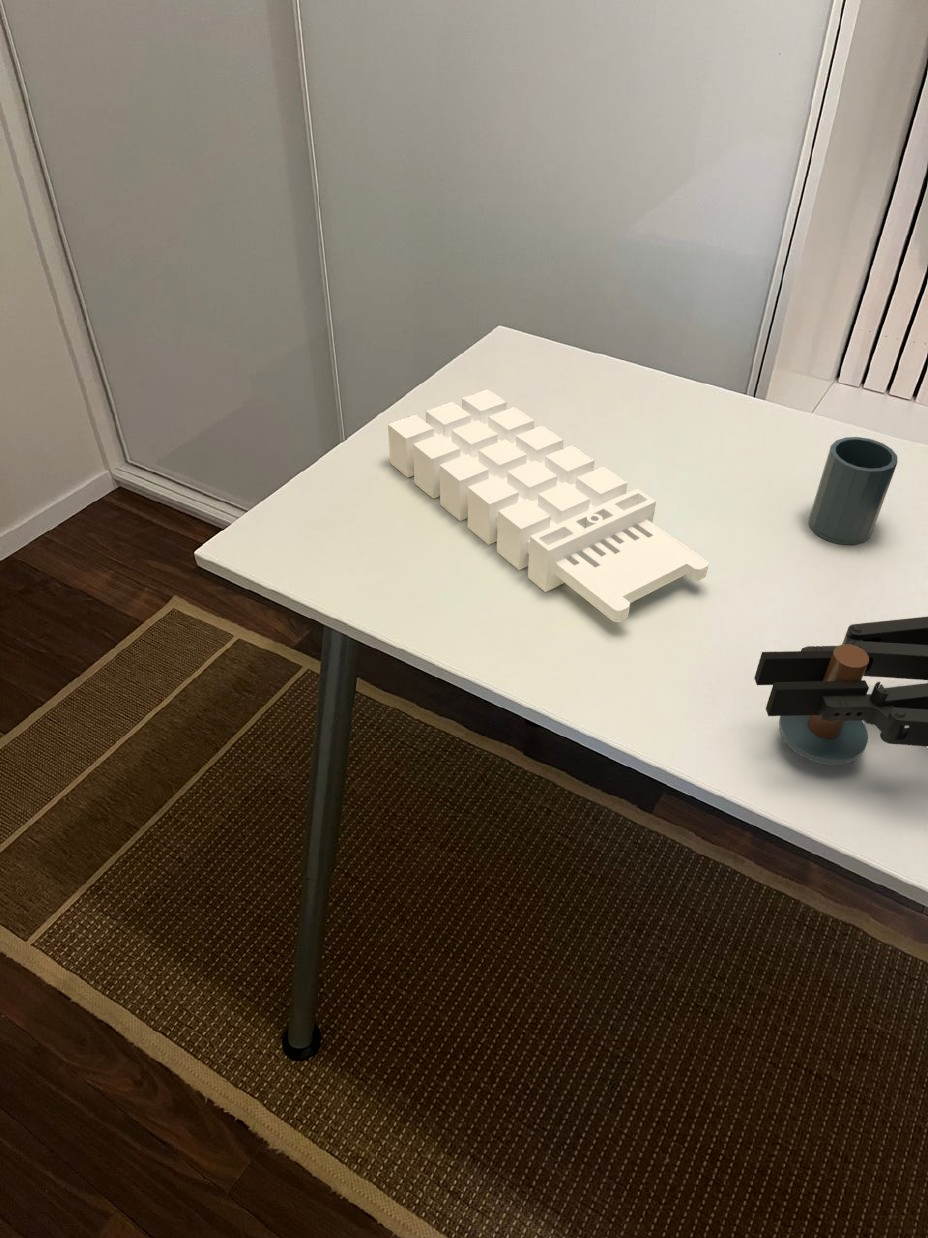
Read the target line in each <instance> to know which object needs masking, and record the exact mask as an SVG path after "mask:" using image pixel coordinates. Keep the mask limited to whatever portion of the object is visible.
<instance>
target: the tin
mask: <svg viewBox="0 0 928 1238" xmlns="http://www.w3.org/2000/svg"><path fill="white" fill-rule="evenodd" d="M898 462H899V461H898V455H897V454H896V452H895V450H893V448H891V447H889V446H888V445H886V444H885V443H884V442H880V441H877V440H876V439H871V438H868V437H861V436H849V437H848V436H847V437H842V438H839V439H836V440H835V441H833V443H831V444H830V448H829V450H828V454H827V457H826V460H825V464H824V467H823V469H822V473H821V477H820V480H819V483H818V486H817V490H816V493H815V496H814V500H813V504H812V506H811V510H810V513H809V517H808V526H809V527H810V529H811V531H812V532H813V533H814V534H815V535H816V536H818V537H819V538H821V539H823V540H825V541H827V542H830V543H833V544H838V545H844V546H845V545H846V546H853V545H859V544H862V543H864V542H867V540H868V539H870V537H871V534H872V533H873V531H874V529H875V526H876V523H877V520H878V517H879V515H880V512H881V510H882V508H883V507H882V506H883V504H884V501H885V498H886V495H887V493H888V490H889V487H890V485H891V482H892V479H893V477H894V473H895V470H896V468H897V465H898Z"/></svg>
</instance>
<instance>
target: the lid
mask: <svg viewBox="0 0 928 1238" xmlns="http://www.w3.org/2000/svg"><path fill="white" fill-rule="evenodd" d="M836 646H837V647H836V648H835V649H834V652H833V655H832V657H831V660H830V663H829V665H828V668H827V671H826V674H825V676H824V679H823V681H857V680H863V678H864V676H863V675H864V673H865V670H866V668H867V665H868V663H869V657H868V655H867V653H866V652H865V651H864V650H863V649H861V648H859V647H857V646H854V645H850V644H843V645H842V644H840V645H836ZM778 729H779V733H780V735H781V737H782V739H783V741H784V742H785V743H786V744H787V746H789V747H790V749H792V751H794V752H795V753H797V754H798V755H800V756H802V757H803V758H805V759H807V760H810V761H812V762H815V763H819V764H823V765H831V766H833V765H834V766H839V765H844V764H849V763H851V762H854V761H855V760H857V759H858V758H860V757H861V756H862V755H863V753H864V752H865V749H866V747H867V745H868V739H869V734H868V729H867V727H866V725H865V723H864V721H863V720H860V721H844V720H843V721H827V720H823V719H821V717H820V715H802V716H779V719H778Z"/></svg>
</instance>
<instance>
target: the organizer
mask: <svg viewBox="0 0 928 1238" xmlns="http://www.w3.org/2000/svg"><path fill="white" fill-rule="evenodd" d="M507 405H508V404H507V401H506V400H505V399H503V398H502V397H500V396H498V395H497V394H495V393H494V392H492V391H491V390H489V389H484V390H482V391H479V392H475V393H473V394H470V395H467V396H464V397H462V398H461V406H460V405H458V404H456V403H455V402H454V401H450V402H448V403H444V404H442V405H439V406H436V407H434V408H433V407H432V408H430V409H427V410H425V420H423V419H422V418H421V417H419V416H418V415H417V414H413V415H410V416H407V417H405V418H402V419H399V420H395V421H394V422H391V423H388V424H387V429H388V448H389V449H388V450H389V464H390V465H392V466H393V467H394V468H395V469H397V470H398V471H399V472H400V473H401V474H402V475H404V476H405V477H406V478H408V479H409V478H411V477H414V478H413V479H414V484H415V486H417V487H419V489H421V490H422V491H423V492H424V493H425V494H426V495H428V496H429V497H430V498H431V499H433V500H434V499H436V498H439V505H440V506H441V507H442V508H444V510H445V511H447V512H448V513H450V514H451V515H452V516H453V517H454V518H455V519H457V520H458V521H459V522H462V521H464V520H467V529H469V530H470V531H471V532H472V533H473V534H475V535H476V536H477V537H478V538H479V539H481V540H482V541H483V542H484V543H486V544H487V546H490V545H492V544H494V543H496V553H498V555H500V556H501V557H503V559H504V560H506V561H507V562H508V563H509V564H510V565H512V566H513V567H514V568H515V569H516V570H518V571H521V570H523V569H525V568H527V579H529V580H530V581H531V582H532V583H534V585H536V586H537V587H538V588H540V589H541V590H542V591H543V592H545V593H547V592H549V591H551V590H554V589H555V588H557V587H559V586H561V585H564V584H566V585H567V586H568V587H570V588H571V590H573V591H574V592H576V593H577V594H578V595H580V597H582V598H583V599H585V600H586V601H587V602H588V603H590V605H591V606H593V607H595V609H597V610H598V612H599V611H600V612H601V613H602V614H603V615H604V616H606V618H608V619H609V620H610V621H612V622H614V623H621V622H623V621H625V620H626V619H628V618H629V613H630V608H631V607H630V606H631V603H633V602H636V601H637V600H639V599H642V598H643V597H645V596H646V595H649V594H650V593H652V592H654V591H656V590H658V589H660V588H662V587H664V586H666V585H668V584H670V583H672V582H674V581H676V580H678V579H680V578H681V577H683V576H686V577H687V578H689V579H690V580H691V581H696V582H697V581H701V580H702V579H704V578H706V577H707V573H708V570H709V569H708V568H709V564H710V563H709V561H708V560H706V559H705V558H703V557H702V556H701V555H699V554H698V553H697V552H695V551H693V550H692V549H691V548H689V547H687V545H685V544H683V543H682V542H680V541H679V540H678V539H676V538H675V537H673V536H671V535H670V534H669V533H667V532H666V531H664V530H663V529H661V528H660V527H658V526H657V525H656V524H654V523H653V521H654V517H655V510H656V505H657V500H655V499H653V498H652V497H650V496H649V495H647V494H646V493H644V492H643V491H642V490H640V489H638V488H635V489H633V490H631V491H627V488H628V481H626V480H624V479H623V478H622V477H620V476H619V475H617V474H615V472H613V471H611V470H610V469H608V468H607V467H605V466H603V465H602V466H600V467H598V468H596V469H595V459H593V458H592V457H591V456H588V455H587V454H586V453H584V452H582V451H581V450H579V449H578V448H577V447H575V446H574V445H572V444H570V445H569V446H566V447H564V439H563V438H562V437H560V436H559V435H557V434H556V433H554V432H553V431H551V430H550V429H548V428H547V427H545V426H544V425H539V426H537V427H535V420H534V419H533V418H532V417H530V416H529V415H527V414H526V413H524V412H523V411H521V410H520V409H518V408H517V407H515V406H512V407H510V408H507V407H508V406H507Z"/></svg>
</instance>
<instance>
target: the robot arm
mask: <svg viewBox="0 0 928 1238" xmlns="http://www.w3.org/2000/svg"><path fill="white" fill-rule="evenodd" d="M843 644H850V645H854V646H857V647H859V648H861V649H863V650H864V651H865V652H866V653H867V655H868V657H869V663H868V665H867V668H866V670H865V673H864V675H863V677H870V678H886V679H887V678H888V679H901V680H903V679H904V680H917V681H928V616H919V617H911V618H910V617H908V618H901V619H890V620H882V621H870V622H861V623H851V624H849V626H848V627H847V630H846V632H845V636H844V638H843V641H842V643H841V645H843ZM837 646H838V645H807V646H805V647H802V648H801V650H791V651H789V650H787V651H786V650H785V651H761V653H760V658H759V660H758V664H757V667H756V671H755V675H754V677H753V678H754V681H755V685H756V686H772V687H771V690H770V692H769V693H770V694H769V697H768V699H767V703H766V705H765V710H766V711H765V712H766V714H767V716H768V717H780V716H802V715H820V717H821V719H823V720H827V721H843V720H844V721H860V720H862V721H863V722H865V723H866V724H868V725H872V726H874V727H876V728H877V730H879V731H880V733H879V737H880V740H882V741H883V742H884V743H886V744H890V745H900V746H915V747H928V682H926V683H916V684H909V685H900V686H899V685H898V686H891V687H890V686H889V687H884V685H883V684H882V683H881V681H877V682H875V683H874V686H873V689H872V691H871V693H868V692H869V689H870V686H869V685H868V683H867V681H866V679H865V680H863V679H862V680H857V681H823V679H824V676H825V674H826V671H827V668H828V665H829V663H830V660H831V657H832V655H833V652H834V649H835V648H836V647H837ZM907 726H908V727H907Z"/></svg>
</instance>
